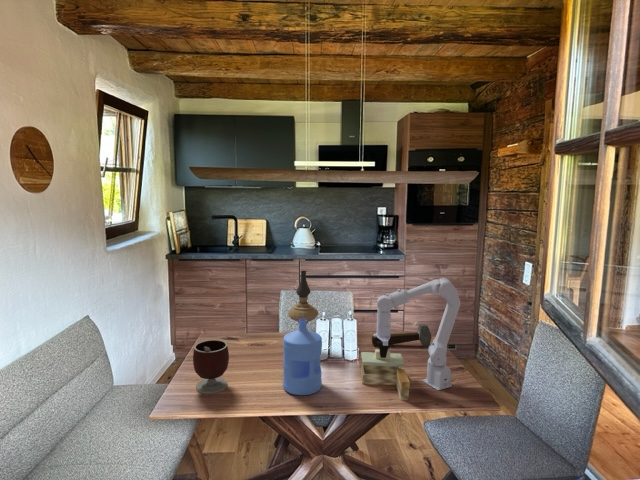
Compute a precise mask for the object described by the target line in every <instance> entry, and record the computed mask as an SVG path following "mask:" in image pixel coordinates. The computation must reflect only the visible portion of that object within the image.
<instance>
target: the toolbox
mask: <svg viewBox="0 0 640 480" xmlns="http://www.w3.org/2000/svg"><path fill="white" fill-rule="evenodd" d="M397 369H402V366H401V367H392V366H370V365H363V363H362V364H360V375H361V376H360V377H361V381H362V385H381V386H382V385H383V386H386V385H387V386H395V387H396V391H397V393H398V397H399V399H400V401H409V400H410V399H409V398H410V396H409V394H410V387H409V388H401V385H400V383H399V380H398V377H397Z"/></svg>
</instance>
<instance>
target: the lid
mask: <svg viewBox="0 0 640 480" xmlns="http://www.w3.org/2000/svg"><path fill="white" fill-rule="evenodd" d="M360 356H361V361H362V364H363V365H370V366H392V367H401V368H402V367H405V360H404V359H403V356H402V354H401V353H394V352H391V351H390V349H388V351H387V355H386V358H381V357H380V350H379V348H375V349H374V352H371V351H361V352H360Z"/></svg>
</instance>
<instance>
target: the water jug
mask: <svg viewBox="0 0 640 480" xmlns="http://www.w3.org/2000/svg"><path fill="white" fill-rule="evenodd" d="M306 321H307V320H306V319H299V323H298V329H296V330H294V331H290V332H288V333H286V334H285V335H284V336H283V341H282V348H283V351H282V353H283V357H282V358H283V360H282V369H283V373H282V374H283V380H282V386H283V389H284V390H285V391H286V392H287V393H288V394H291V395H295V396H308V395H309V396H310V395H312V394H315V393H317V392H318V391H320V389H322V386H323V385H322V368H321V357H322V352H323V351H322V350H323V340H322V339H323V338H322V336H321V335H320V334H319V333H318V332H315V331H312V330H310V329H308V328H307V325H308V323H307V324H306ZM307 329H308V330H307Z"/></svg>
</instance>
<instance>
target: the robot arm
mask: <svg viewBox="0 0 640 480" xmlns="http://www.w3.org/2000/svg"><path fill="white" fill-rule="evenodd" d="M426 294H432V295H435V296H437V295H438V294H439V296H441V298H443V299H444V300H445V302H446V304H445V305H446V306H445V309H444V312H443V315H442V317H441V321H440V324H439V327H438V330H437V332H436V336H435V338H434V339H433V340H432V343H430V345H429V346H428V347H427V353H428V354H429V358H428V359H427V367H426V378H423V379H421V381H422V382H423V383H425V384H426V385H428V386H430V387H431V388H434V390H436V391H441V390H444V389H447V388H448V389H449V388H452V386H453V385H452V370H451V369H450V368H449V367H448V366H447V352H448V342H449V340H450V337H451V333H452V331H453V327H454V325H455V323H456V319H457V317H458V313H459V310H460V308H461V300H460V297H459V293H458V289H457V288H456V287H455V286H454V284H453V282H451V281H450V279H449V278H447V277H440V278H438V279H433V280H430V281H428V282H425V283H423V284H421V285H419V286H415V287H414V288H410V289H407V290H406V289H404V288H398V289H397V290H396V291H394V292H391V293H386V294H385V295H384V294H382V295H380V296H379V297H378V298H377V301H376V304H377V305H376V306H377V312H376V332H375V333H373V336H374V337H376V340H377V344H378V346H377V349H379V350H380V357H381V358H386V355H387V351H388V350H389V348H390V347H391V346H392V345H391V342H388V341H389V339H390V337H391V335H390V334H391V322H392V320H391V319H392V314H391V310H392V308H396V307H399V306H402V305H404V304H408V303H409V301H410V300H411V299H412V298H417V297H419V296H422V295H423V296H424V295H426Z"/></svg>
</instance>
